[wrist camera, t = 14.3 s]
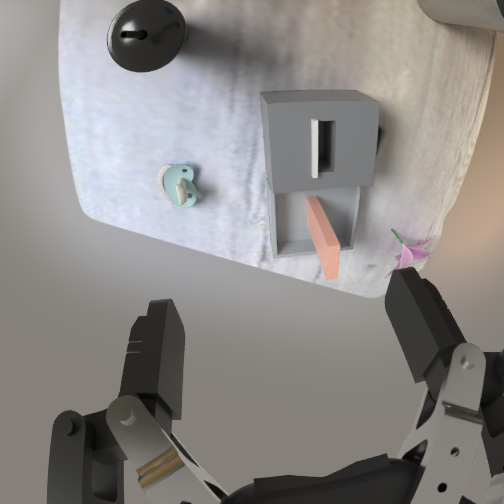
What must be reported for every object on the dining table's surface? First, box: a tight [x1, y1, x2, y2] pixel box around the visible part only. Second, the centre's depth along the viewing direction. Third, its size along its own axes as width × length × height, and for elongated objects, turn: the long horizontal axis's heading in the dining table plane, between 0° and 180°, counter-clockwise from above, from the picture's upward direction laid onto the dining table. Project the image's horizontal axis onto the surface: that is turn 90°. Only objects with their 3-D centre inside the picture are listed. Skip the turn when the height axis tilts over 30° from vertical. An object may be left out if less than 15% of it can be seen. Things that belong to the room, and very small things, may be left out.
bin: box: [267, 178, 361, 258], centre depth 49 cm, size 14×13×4 cm
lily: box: [384, 229, 435, 278], centre depth 54 cm, size 12×12×10 cm
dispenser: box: [260, 90, 380, 194], centre depth 39 cm, size 14×12×9 cm
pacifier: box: [158, 164, 197, 208], centre depth 44 cm, size 7×6×6 cm
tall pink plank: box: [306, 195, 340, 280], centre depth 46 cm, size 2×6×13 cm, turn 7°
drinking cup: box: [107, 0, 188, 72], centre depth 24 cm, size 8×8×20 cm
